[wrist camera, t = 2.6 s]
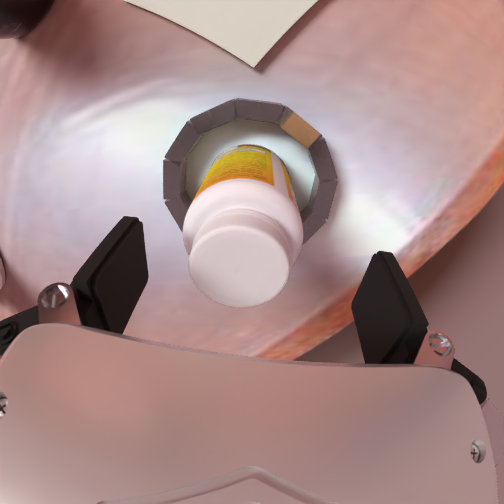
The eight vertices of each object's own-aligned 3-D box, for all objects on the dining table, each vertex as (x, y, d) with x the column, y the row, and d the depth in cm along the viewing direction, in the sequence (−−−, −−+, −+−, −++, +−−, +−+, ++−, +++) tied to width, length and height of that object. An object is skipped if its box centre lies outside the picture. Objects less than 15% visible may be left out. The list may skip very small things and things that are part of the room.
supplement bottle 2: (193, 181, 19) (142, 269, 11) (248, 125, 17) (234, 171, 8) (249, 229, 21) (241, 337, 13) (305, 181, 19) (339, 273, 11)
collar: (262, 272, 24) (262, 291, 22) (144, 197, 20) (132, 211, 18) (361, 171, 18) (372, 183, 16) (230, 67, 15) (226, 64, 13)
